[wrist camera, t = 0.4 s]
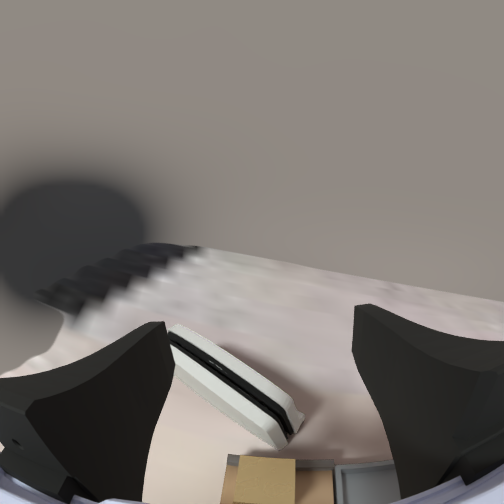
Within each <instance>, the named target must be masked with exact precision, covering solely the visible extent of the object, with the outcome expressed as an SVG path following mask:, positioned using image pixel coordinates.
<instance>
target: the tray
mask: <svg viewBox="0 0 504 504" xmlns="http://www.w3.org/2000/svg"><path fill="white" fill-rule="evenodd" d="M332 480H333V497H334V504H390V503H393V502H396V501H399V500H401V496H400V490H399V483H398V478H397V473H396V469H395V464H394V460H387V461H379V462H370V463H359V464H345V465H335V467H334V468H333V470H332Z"/></svg>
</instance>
